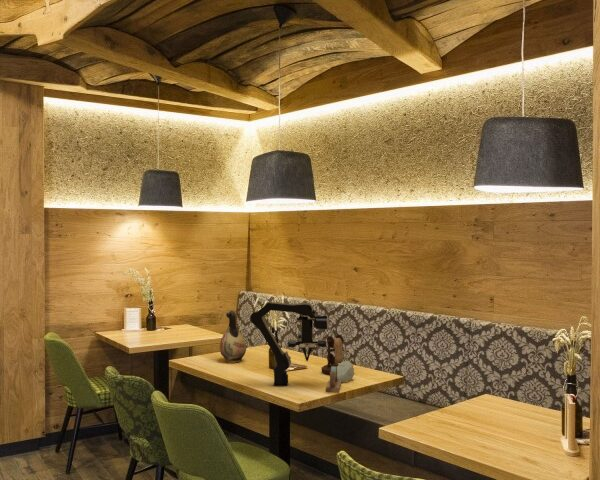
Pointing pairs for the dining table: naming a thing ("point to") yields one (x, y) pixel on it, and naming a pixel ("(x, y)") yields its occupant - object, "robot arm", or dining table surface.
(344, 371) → the decorative stone
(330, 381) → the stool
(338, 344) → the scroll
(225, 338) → the ceramic jug
